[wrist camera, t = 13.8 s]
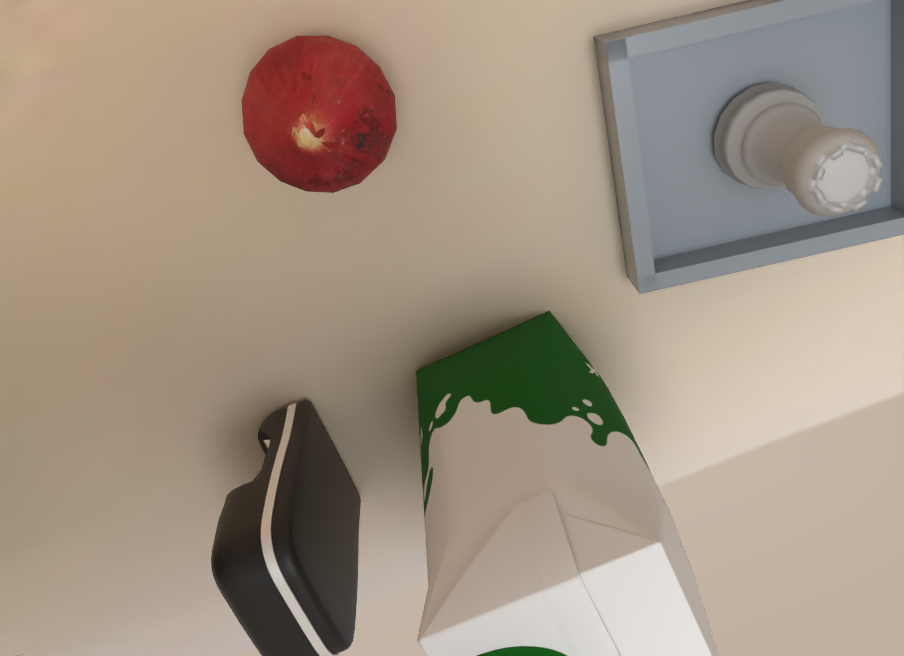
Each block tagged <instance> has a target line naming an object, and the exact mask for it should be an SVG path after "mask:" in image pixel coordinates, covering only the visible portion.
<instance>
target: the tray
mask: <svg viewBox="0 0 904 656" xmlns="http://www.w3.org/2000/svg"><path fill="white" fill-rule="evenodd" d="M594 42H595V49H596V57H597V64H598V71H599V78H600V85H601V92H602V99H603V106H604V113H605V121H606V128H607V135H608V142H609V149H610V156H611V163H612V170H613V177H614V185H615V192H616V199H617V206H618V213H619V220H620V227H621V234H622V241H623V249H624V256H625V263H626V270H627V277H628V278H629V279H630V281H631V282H632V284H633V285H634V286H635V288H636V289H637V291H638V292H639V294H641V293H646V292H650V291H655V290H659V289H664V288H668V287H673V286H677V285H681V284H686V283H690V282H695V281H699V280H704V279H708V278H713V277H717V276H721V275H726V274H730V273H735V272H739V271H744V270H748V269H753V268H757V267H761V266H766V265H770V264H775V263H779V262H784V261H788V260H793V259H797V258H801V257H806V256H810V255H815V254H819V253H824V252H828V251H833V250H837V249H841V248H846V247H850V246H855V245H859V244H864V243H868V242H873V241H877V240H881V239H886V238H890V237H895V236H899V235H904V0H748V1H744V2H740V3H735V4H731V5H727V6H722V7H718V8H714V9H710V10H705V11H701V12H697V13H693V14H688V15H684V16H680V17H676V18H671V19H667V20H663V21H659V22H654V23H650V24H646V25H641V26H637V27H633V28H629V29H624V30H620V31H616V32H612V33H607V34H603V35H599V36H595V37H594ZM770 82H775V83H780V84H785V85H790V86H793V87H794V88H795V89H796V90H798V91H801V92H802V93H803V94H805V95H806V96H807V97H808V98H810V99H811V100H812V101H814V102H815V104H816V105H817V107H818V110H819V112H820V114H821V116H822V118H823V120H824V125H825V126H830V127H835V128H843V127H846V128H851V129H856V130H861V131H862V132H864V133H865V134H866V135H867V136H869V137H870V138H871V139H873V140H874V142H875V145H876V147H877V149H878V151H879V153H880V158H881V160H882V162H883V165H884V166H882V167H880V174H879V176H878V177H880V178H882V179H884V180H883V182H882V185H881V187H880V190H879V192H876V191H873V190H872V191H871V193H870V194H869V195H868V196H867V197H866V198H865V200H866V202H867V203H868V205H866V206H864V207H863V208H861V209H860V210H858V211H854V210H852V209H851V210H850V211H848V212H846V213H844V214H839V215H834V216H830V217H826V216H820V215H815V214H811V213H810V212H809V211H807V210H806V209H804V208H803V207H802V206H800V205H799V203H798V201H797V199H796V197H795V195H794V194H793V193H791V192H790V191H788V190H787V188H786V187H781V188H776V189H771V190H763V189H757V188H752V187H747V186H746V185H744V184H742V183H738V182H737V181H735V180H734V179H733V178H731V177H730V176H729V175H727V174H726V173H724V171H723V169H722V168H721V166H720V164H719V162H718V160H717V158H716V156H715V145H714V134H715V131H716V128H717V125H718V122H719V118H720V116H721V114H722V113H723V112H724V110H725V109H726V108H727V106H728V105H729V104H730V103H731V101H732V100H733V99H734V98H735V97H737V96H738V95H740V94H741V93H743V92H744V91H746V90H747V89H749V88H750V87H752V86H756V85H761V84H766V83H770Z"/></svg>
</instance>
